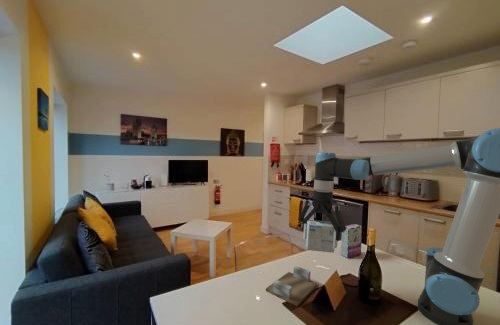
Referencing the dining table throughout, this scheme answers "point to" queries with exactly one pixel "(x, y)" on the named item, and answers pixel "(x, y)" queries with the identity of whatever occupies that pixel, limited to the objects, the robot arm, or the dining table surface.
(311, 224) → the light bulb box
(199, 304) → the dining table surface
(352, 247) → the candy bar box
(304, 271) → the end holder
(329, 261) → the dining table surface
